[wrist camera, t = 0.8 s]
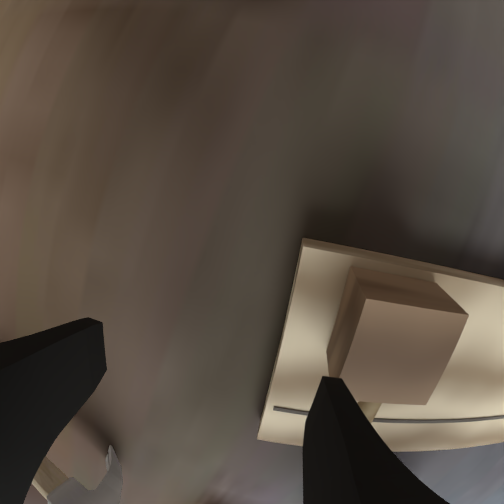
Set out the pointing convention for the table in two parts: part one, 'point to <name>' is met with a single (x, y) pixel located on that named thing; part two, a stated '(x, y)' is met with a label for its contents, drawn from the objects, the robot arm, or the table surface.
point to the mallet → (392, 338)
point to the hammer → (71, 491)
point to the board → (389, 415)
